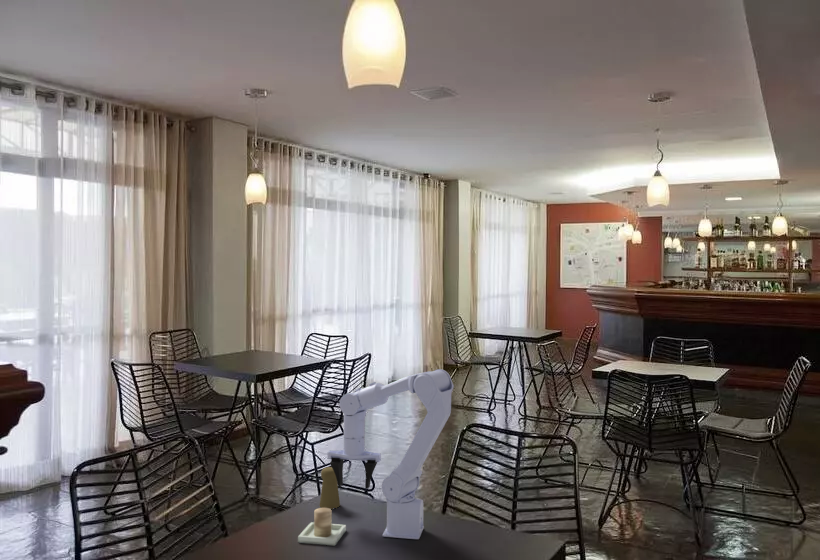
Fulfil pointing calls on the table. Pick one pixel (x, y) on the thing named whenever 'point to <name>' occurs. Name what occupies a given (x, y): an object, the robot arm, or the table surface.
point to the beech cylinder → (322, 522)
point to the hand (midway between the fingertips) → (353, 486)
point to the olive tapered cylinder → (329, 489)
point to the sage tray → (309, 537)
